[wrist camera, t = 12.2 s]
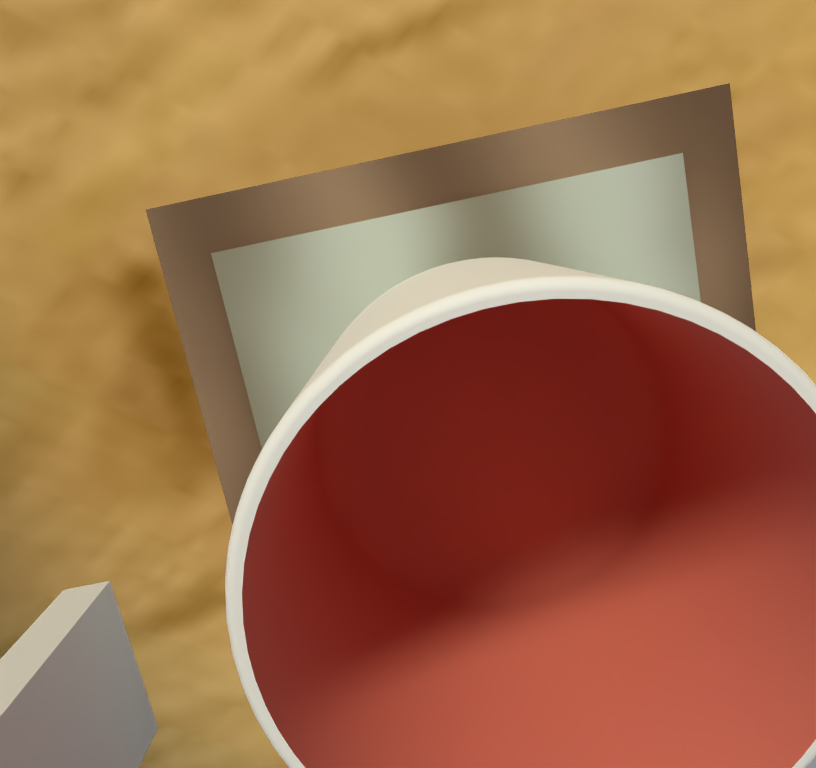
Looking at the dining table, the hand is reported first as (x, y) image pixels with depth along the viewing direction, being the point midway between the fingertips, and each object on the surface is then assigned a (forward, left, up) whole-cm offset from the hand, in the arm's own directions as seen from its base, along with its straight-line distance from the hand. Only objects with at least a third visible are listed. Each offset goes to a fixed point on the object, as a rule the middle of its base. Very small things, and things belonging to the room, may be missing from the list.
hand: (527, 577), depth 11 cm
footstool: (0, 0, -17) cm, 17 cm away
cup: (0, 0, -10) cm, 10 cm away
